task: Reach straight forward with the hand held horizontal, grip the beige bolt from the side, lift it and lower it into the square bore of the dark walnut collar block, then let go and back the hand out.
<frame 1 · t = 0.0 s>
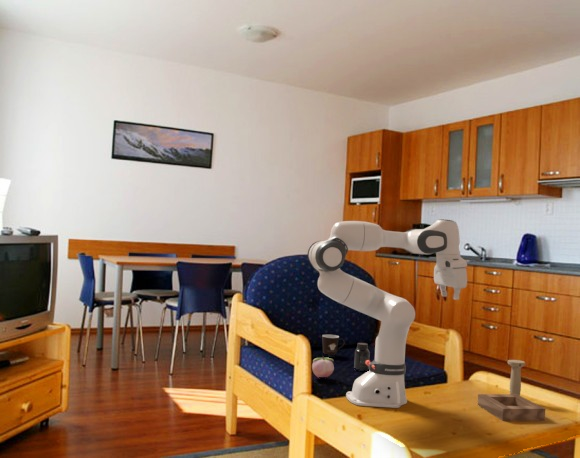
hand: (450, 297, 194), 39 cm above the table, tool pointing down, fingers open, 8 cm apart
decorative fruit: (321, 379, 213), on the table
supplement bottle: (361, 370, 232), on the table
collar: (510, 412, 183), on the table
coffee mug: (332, 356, 256), on the table
beige bolt: (514, 400, 198), on the table
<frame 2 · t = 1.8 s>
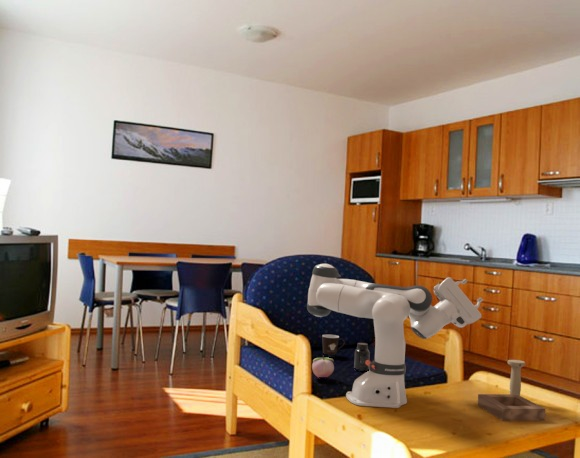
hand: (473, 289, 207), 41 cm above the table, tool pointing upward, fingers open, 8 cm apart
nothing on the table moved.
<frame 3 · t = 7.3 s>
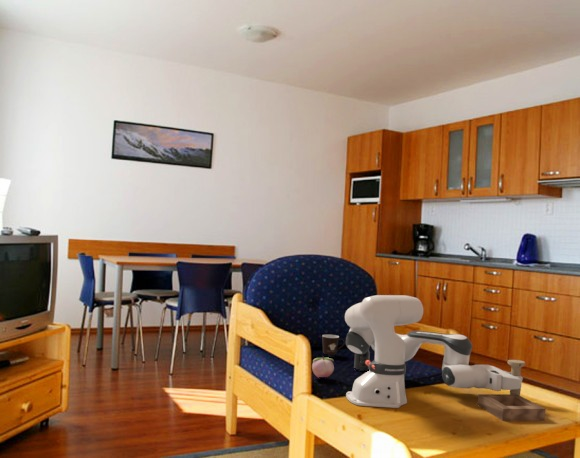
hand: (517, 376, 199), 9 cm above the table, tool horizontal, fingers closed on beige bolt, 3 cm apart
beige bolt: (514, 400, 198), on the table, touching gripper
everything else where it was.
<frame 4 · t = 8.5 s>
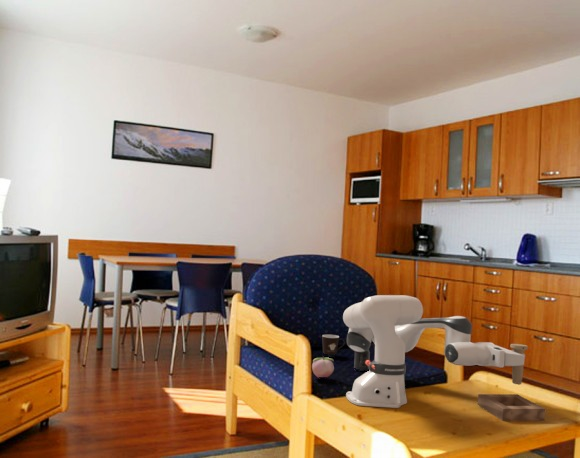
hand: (520, 354, 199), 18 cm above the table, tool horizontal, fingers closed on beige bolt, 3 cm apart
beige bolt: (516, 384, 198), point 6 cm above the table, touching gripper
everything else where it was.
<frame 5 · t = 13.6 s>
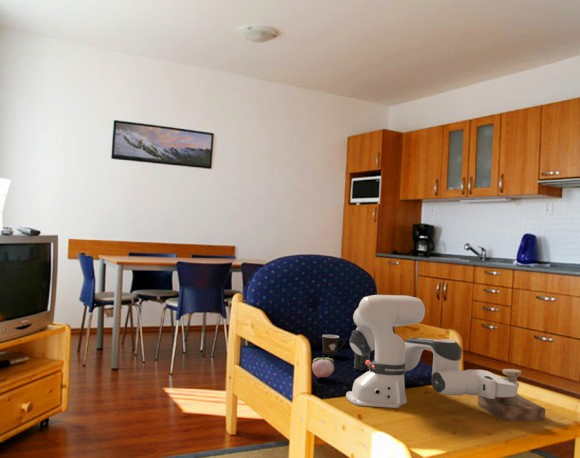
hand: (513, 382, 183), 11 cm above the table, tool horizontal, fingers closed on beige bolt, 3 cm apart
beige bolt: (510, 413, 182), resting in collar, touching gripper
everything else where it was.
when the fingers open (11 cm above the table, at t = 13.9 s): beige bolt stays where it is, resting in collar.
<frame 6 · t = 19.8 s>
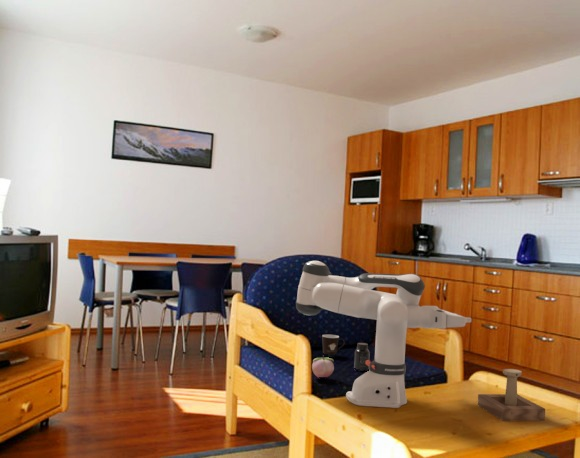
hand: (464, 317, 204), 30 cm above the table, tool horizontal, fingers open, 8 cm apart
beige bolt: (510, 413, 182), resting in collar
everything else where it was.
at the end: beige bolt 0.2 cm off-centre on the collar, point 0.0 cm above the collar's base; beige bolt tilted 0°; the gripper is holding nothing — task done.
